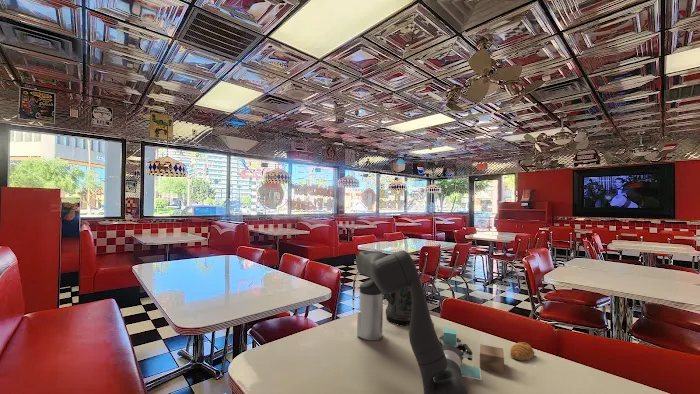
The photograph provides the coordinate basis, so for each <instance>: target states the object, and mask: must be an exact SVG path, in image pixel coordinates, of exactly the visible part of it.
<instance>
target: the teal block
mask: <svg viewBox="0 0 700 394" xmlns="http://www.w3.org/2000/svg"><path fill="white" fill-rule="evenodd" d="M443 336H444V339H443V341H444V342H445V344H449V345H454V344H455V343H457V329H455V328H446V327H444V328H443Z"/></svg>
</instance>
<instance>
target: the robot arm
mask: <svg viewBox="0 0 700 394" xmlns="http://www.w3.org/2000/svg"><path fill="white" fill-rule="evenodd" d="M355 263H356V269H357V272H358V273H359V274H360V275H363V276H366V277H367V278H368V279H369V280H366V281H363V282H362V283H360V285H359V303H358V304H359V305H358V307H359V308H358V309H359V310H358V311H357V328H356V333H357V334H356V337H358V338H361V339H362V340H364V341H377V340H380V339H382V338H383V312H384V309H383V307H384V301H383V299H384V296H383V293H385V294H391V293H394V292H396V291H399V290H401V289H404V288H406V287H409V289H410V292H411V297H412V313H411V320H410V326H409V328H408V329H409V330H408V331H409V332H408V337H409V343H410V347H411V349H412V352H413V354H414V355H413V356H414V357H415V359H416V363H417V365H418V368H419V371H420V374H421V375H420V376H421V379H422V380H421V381H422V387H423V394H470V393H469V390H468V388H467V387H466V385H465V383H464V381H463V380H462V379H463V377H462V370H463V368H462V365H463V360H464V358H465V359H467V360H468V361H470V362H471V361H473V351H472V350H471V349H470V347H469V346H468V344H466V343H462V340H461V339H460V338H459V337H456V343H455V344H454V345H449V344H445V342H444V341H443V339H444V335H441V336H439V337H438V335H437V333H436V329H435V325H434V326H433V323H434V322H433V323H432V321H433V319H432V316H431V314H430V310H429V306H428V303H427V298H426V295H425V292H424V288H423V285H422V281H421V278H420V275H419V272H418V269H417V265H416V263H415V262H414V260H413V258H412V256H411V255H410V254H409V253H408V252H407V251H405V250H399V251H396V252H393V253H391V254H388V255H387V254H385V253H383V252H382V251H381V250H380V251H379V250H363V251H360V252H359V253H358V254H357V256H356V260H355ZM431 319H432V320H431Z"/></svg>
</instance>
